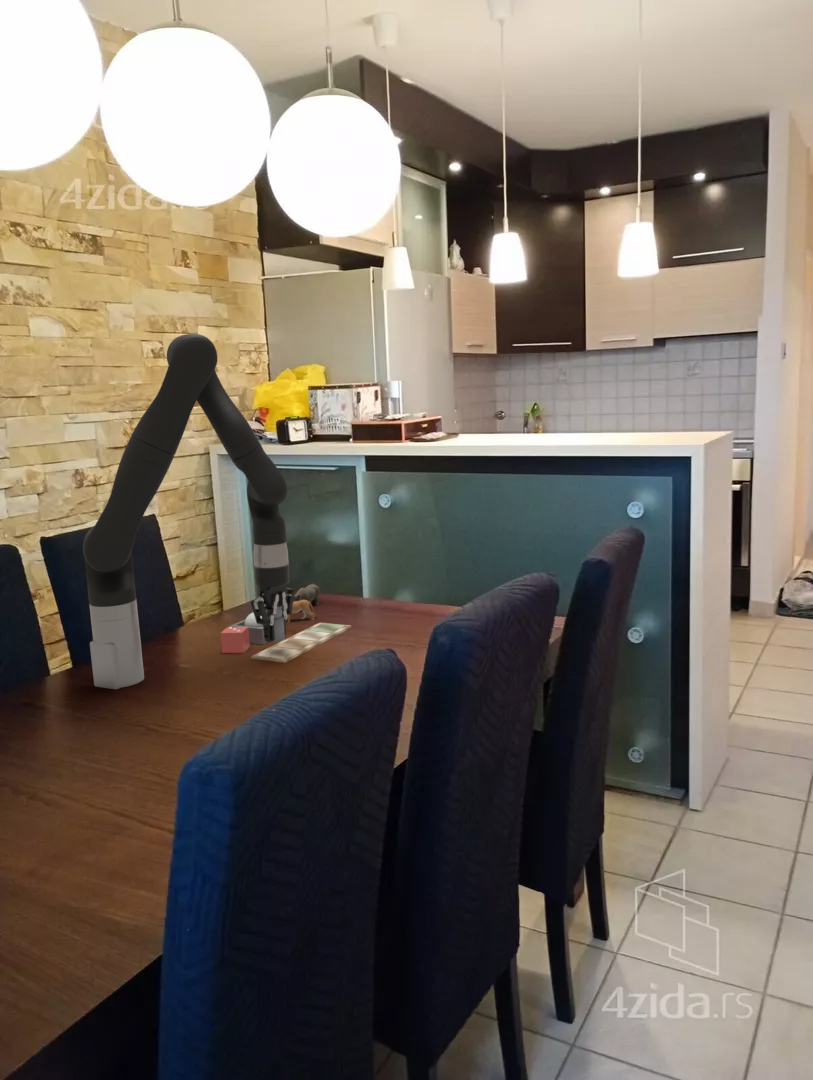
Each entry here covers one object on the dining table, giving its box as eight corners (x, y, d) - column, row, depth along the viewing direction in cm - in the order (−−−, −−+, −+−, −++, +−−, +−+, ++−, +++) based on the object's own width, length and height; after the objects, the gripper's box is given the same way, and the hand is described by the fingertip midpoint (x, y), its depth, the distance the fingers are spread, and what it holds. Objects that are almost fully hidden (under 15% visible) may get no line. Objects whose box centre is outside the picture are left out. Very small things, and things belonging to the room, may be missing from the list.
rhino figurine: (284, 614, 231) (283, 592, 230) (311, 602, 243) (310, 581, 242) (297, 615, 229) (296, 593, 228) (324, 603, 241) (322, 582, 240)
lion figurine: (276, 627, 218) (274, 599, 217) (271, 623, 222) (269, 595, 221) (320, 619, 224) (318, 592, 222) (314, 616, 227) (312, 589, 226)
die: (243, 654, 197) (242, 631, 196) (222, 654, 197) (220, 631, 196) (250, 647, 202) (248, 625, 201) (229, 647, 202) (227, 625, 201)
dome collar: (262, 645, 203) (261, 629, 202) (231, 642, 207) (229, 625, 206) (285, 634, 211) (283, 619, 210) (254, 631, 215) (252, 616, 214)
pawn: (278, 643, 191) (276, 607, 189) (262, 641, 192) (260, 606, 191) (288, 638, 194) (286, 603, 193) (273, 636, 196) (271, 602, 194)
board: (285, 663, 188) (285, 659, 188) (251, 659, 192) (251, 655, 192) (351, 628, 214) (351, 625, 214) (320, 625, 218) (319, 622, 218)
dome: (261, 640, 205) (259, 616, 204) (240, 638, 207) (238, 614, 206) (275, 633, 210) (273, 609, 209) (255, 631, 213) (253, 608, 212)
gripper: (266, 570, 182) (271, 649, 185) (303, 558, 195) (307, 631, 198) (237, 568, 186) (242, 645, 188) (275, 556, 198) (279, 628, 201)
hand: (275, 638), depth 193 cm, fingers closed on pawn, 4 cm apart
